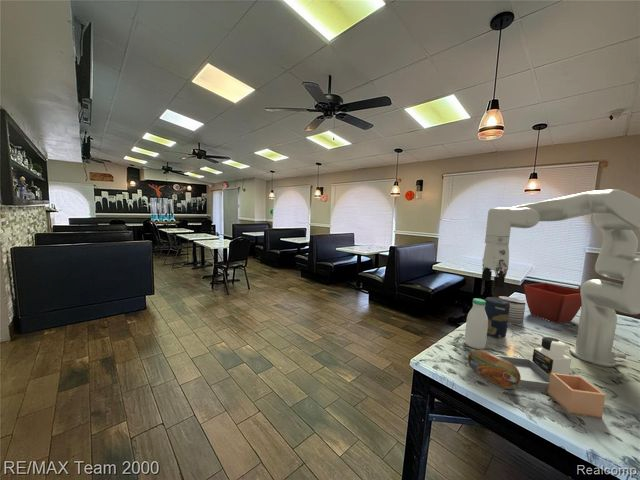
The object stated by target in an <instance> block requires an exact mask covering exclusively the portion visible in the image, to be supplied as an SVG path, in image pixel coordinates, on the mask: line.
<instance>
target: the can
mask: <svg viewBox="0 0 640 480" xmlns="http://www.w3.org/2000/svg"><path fill="white" fill-rule="evenodd" d="M498 298H500V299H504V300H506V301H508V302H509V303H510V308H509V319H508V324H510V323H511V325H518V324H520V325H523V324H524V317H525V310H526V304H527V301H524V300H522V299H519V298H515V297H509V296H503V295H502V296H501V295H500V296H498Z"/></svg>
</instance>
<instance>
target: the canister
mask: <svg viewBox="0 0 640 480" xmlns="http://www.w3.org/2000/svg"><path fill="white" fill-rule="evenodd" d="M484 300H485V301H486V305H485V312H486V315H487V318H488V329H487V336H488V337H491V338H495V339H504V338H506V337H507V331H508V326H509V325H508V324H509V323H508V319H509V308H510V303H509V302H508V301H506V300H504V299H500V298H499V297H496V296H494V297H491V296H488V297H486V298H485V299H484Z"/></svg>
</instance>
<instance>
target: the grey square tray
mask: <svg viewBox="0 0 640 480" xmlns="http://www.w3.org/2000/svg"><path fill="white" fill-rule="evenodd" d="M494 355H495V356H498V357H500V358H502V359H504V360H507V361H509V362H511V363H512V364H513V365H514V366H515V367H516V368H517V369H518V371H519V373H520V377H521V379H520V383H519V384H518V385H517V386H516V388H517V387H519V388H524V389H526V388H527V389H532V390H533V389H534V390H538V391H539V390H540V391H546V392H548V388H549V381H550V376H549V375H548V374H547V373H546V372H545V371H544V370H542V369H541V368H540V367H539V366H538V365H537V364H535V363H534V362H533V361H532V359H530V358H525V357H517V356H516V357H515V356H509V355H508V356H507V355H501V354H500V355H499V354H498V355H497V354H494Z"/></svg>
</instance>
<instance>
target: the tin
mask: <svg viewBox="0 0 640 480" xmlns="http://www.w3.org/2000/svg"><path fill="white" fill-rule="evenodd" d="M495 355H496V354H492V353H491V352H488V351H486V350H484V349H475V350H472V351H471V352H469V354H468V355H467V362H468V365H469V367H470V369H471V370H472V371H473V372H474V373H475V374H476V375H479V376H481V378H484V379H486V380H488V381H490V382H492V383H493V384H495V385H498V387H500V388H503V389H506V390H507V389H508V390H513V389H514V388H517V385H518V384H519V383H520V379H521V377H520V373H519V371H518V369H517V368H516V367H515V366H514V365H513V364H512V363H511V362H509V361H507V360H504V359H502V358H500V357H498V356H495Z"/></svg>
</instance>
